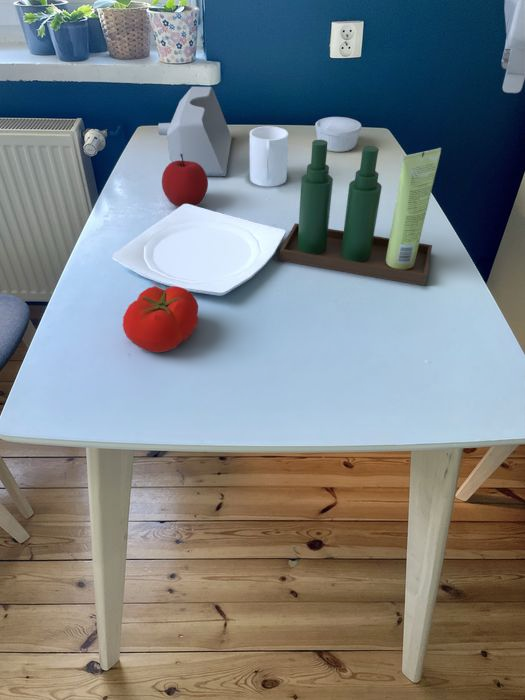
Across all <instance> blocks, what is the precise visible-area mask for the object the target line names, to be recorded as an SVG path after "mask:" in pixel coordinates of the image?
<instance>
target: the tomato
mask: <svg viewBox="0 0 525 700" xmlns="http://www.w3.org/2000/svg"><path fill="white" fill-rule="evenodd" d="M198 313H199V304H198V301H197V299H196V297H195V296H194V295H193V294H192V292H191V291H187V290H186V289H184V288H181V287H177V286H172V287H171V286H169V287H168V288H165V289H163V288H161V287H158V286H157V285H154V286H151V287H148V288H146V289H145V290H142V292H140V293H139V295H138V297H137V298H136V299H135V300H134V301H133V302H132V303H130V304H129V305H128V307H127V309H126V310H125V313H124V315H123V317H122V328H123V332H124V334H125V336H126V338H127V339H128V340H130V342H131V343H132V344H134V345H135V346H136V347H138V348H140V349H143V350H145V351H147V352H153V353H163V352H169V351H171V350H173V349H175V348H177V347H178V346H179V345H180V343H182V342H183V341H185V340H187V339H188V338H189V337H190V336H191V335H192V334H193V332H194V331H195V329H196V327H197V326H198V325H199V324H198V323H199V316H198Z"/></svg>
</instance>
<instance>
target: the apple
mask: <svg viewBox="0 0 525 700" xmlns="http://www.w3.org/2000/svg"><path fill="white" fill-rule="evenodd" d="M180 155H181V158H182V161H174V162H172V161H171V162H170V163H168V165H167V166H165V169H163V173H162V176H161V188H162V192H163V194H164V195H165V197H166V198H167V200H168V201H169V202H170V203H171V204H172V205H173V206H175V207H178V208H179V207H180V206H182V205H183V204H190V205H193V206H199V205H200V204H201V203H202V202H203V200H204V199H205V197H206V195H207V192H208V188H209V180H208V176H206V173H205V171H204V169H203V168H202V167H201V165H199V164H198V163H196V162H191V161H183V156H182V154H180Z"/></svg>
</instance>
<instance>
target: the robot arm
mask: <svg viewBox="0 0 525 700" xmlns="http://www.w3.org/2000/svg"><path fill="white" fill-rule="evenodd" d="M503 9H504V20H505V21H504V23H505V34H506V36H505V37H506V38H505V42H504V43H505V44H504V50H503V54H502V58H501V67H502V69H504V70H505V73H504V77H503V81H502V91H503V92H504V93H507V94H518V93H520V92H521V91H522V89H523V86H524V83H525V0H504V6H503Z"/></svg>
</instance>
